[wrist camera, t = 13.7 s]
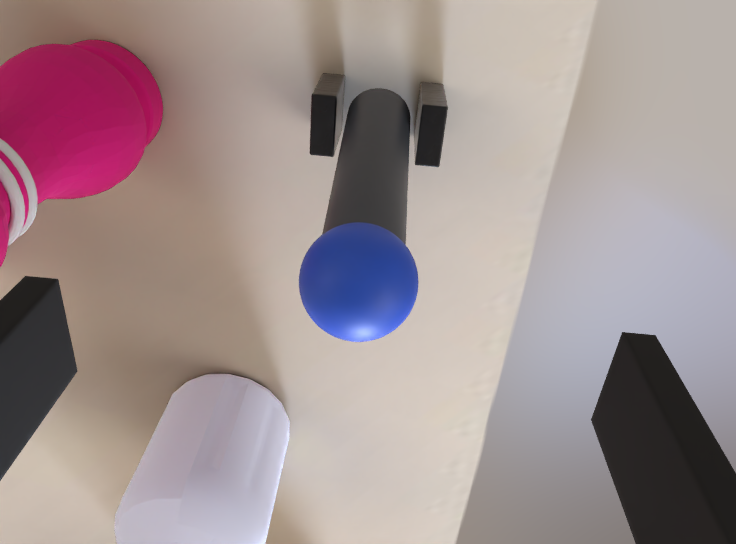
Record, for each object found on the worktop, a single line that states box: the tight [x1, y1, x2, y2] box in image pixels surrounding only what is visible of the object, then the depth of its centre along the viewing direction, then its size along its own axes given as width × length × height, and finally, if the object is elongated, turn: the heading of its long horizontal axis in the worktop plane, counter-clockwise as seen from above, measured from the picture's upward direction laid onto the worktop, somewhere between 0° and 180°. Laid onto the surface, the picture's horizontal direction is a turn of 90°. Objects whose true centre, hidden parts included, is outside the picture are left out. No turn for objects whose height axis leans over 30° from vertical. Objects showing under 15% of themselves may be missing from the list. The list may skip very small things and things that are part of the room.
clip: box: [310, 73, 448, 167], centre depth 32 cm, size 3×6×4 cm, turn 86°
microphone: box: [299, 88, 418, 342], centre depth 26 cm, size 15×4×4 cm
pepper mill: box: [0, 40, 163, 267], centre depth 25 cm, size 7×7×20 cm
